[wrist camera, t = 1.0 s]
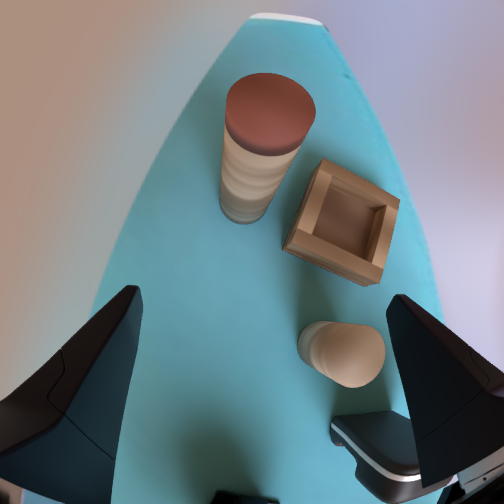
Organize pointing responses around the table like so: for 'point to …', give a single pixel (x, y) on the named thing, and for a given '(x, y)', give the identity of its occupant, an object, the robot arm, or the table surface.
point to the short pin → (342, 351)
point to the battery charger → (383, 454)
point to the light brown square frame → (344, 224)
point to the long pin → (260, 141)
